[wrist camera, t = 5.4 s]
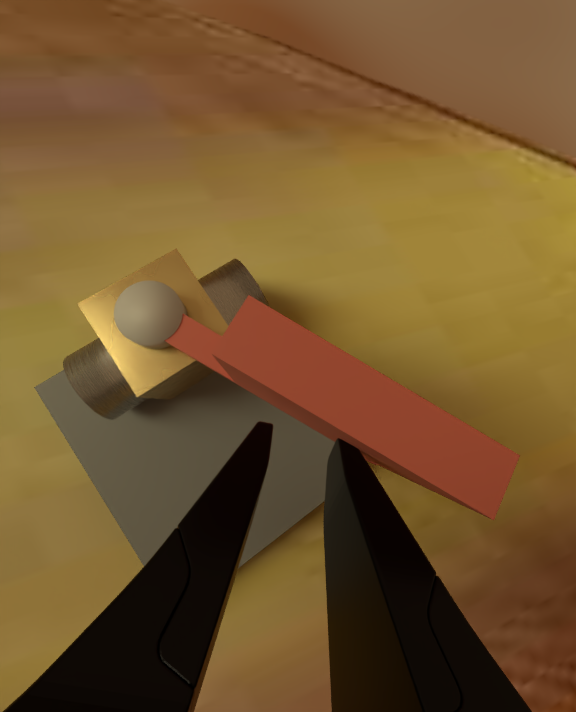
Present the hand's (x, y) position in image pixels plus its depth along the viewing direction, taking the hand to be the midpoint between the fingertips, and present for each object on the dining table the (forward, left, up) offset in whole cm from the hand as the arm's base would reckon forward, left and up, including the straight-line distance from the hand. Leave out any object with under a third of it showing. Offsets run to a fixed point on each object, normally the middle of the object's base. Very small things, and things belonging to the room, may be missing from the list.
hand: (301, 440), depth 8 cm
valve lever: (+2, 0, -4) cm, 5 cm away
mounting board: (+2, +3, -10) cm, 11 cm away
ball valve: (+6, +2, -10) cm, 12 cm away
